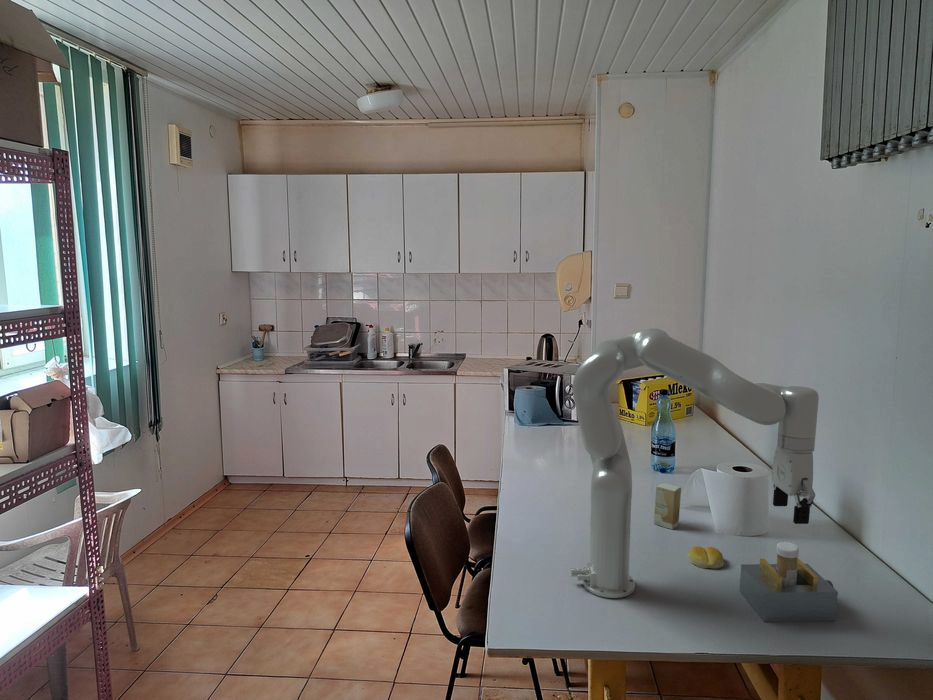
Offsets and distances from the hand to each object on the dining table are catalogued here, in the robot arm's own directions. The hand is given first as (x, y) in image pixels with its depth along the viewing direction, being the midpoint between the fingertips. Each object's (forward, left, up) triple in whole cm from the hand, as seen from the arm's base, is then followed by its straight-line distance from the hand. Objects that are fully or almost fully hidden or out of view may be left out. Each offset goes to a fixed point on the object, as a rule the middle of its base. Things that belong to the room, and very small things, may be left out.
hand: (790, 514), depth 150 cm
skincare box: (-14, +45, -23) cm, 52 cm away
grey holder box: (0, 0, -22) cm, 22 cm away
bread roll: (-10, +21, -23) cm, 33 cm away
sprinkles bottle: (0, 0, -21) cm, 21 cm away
